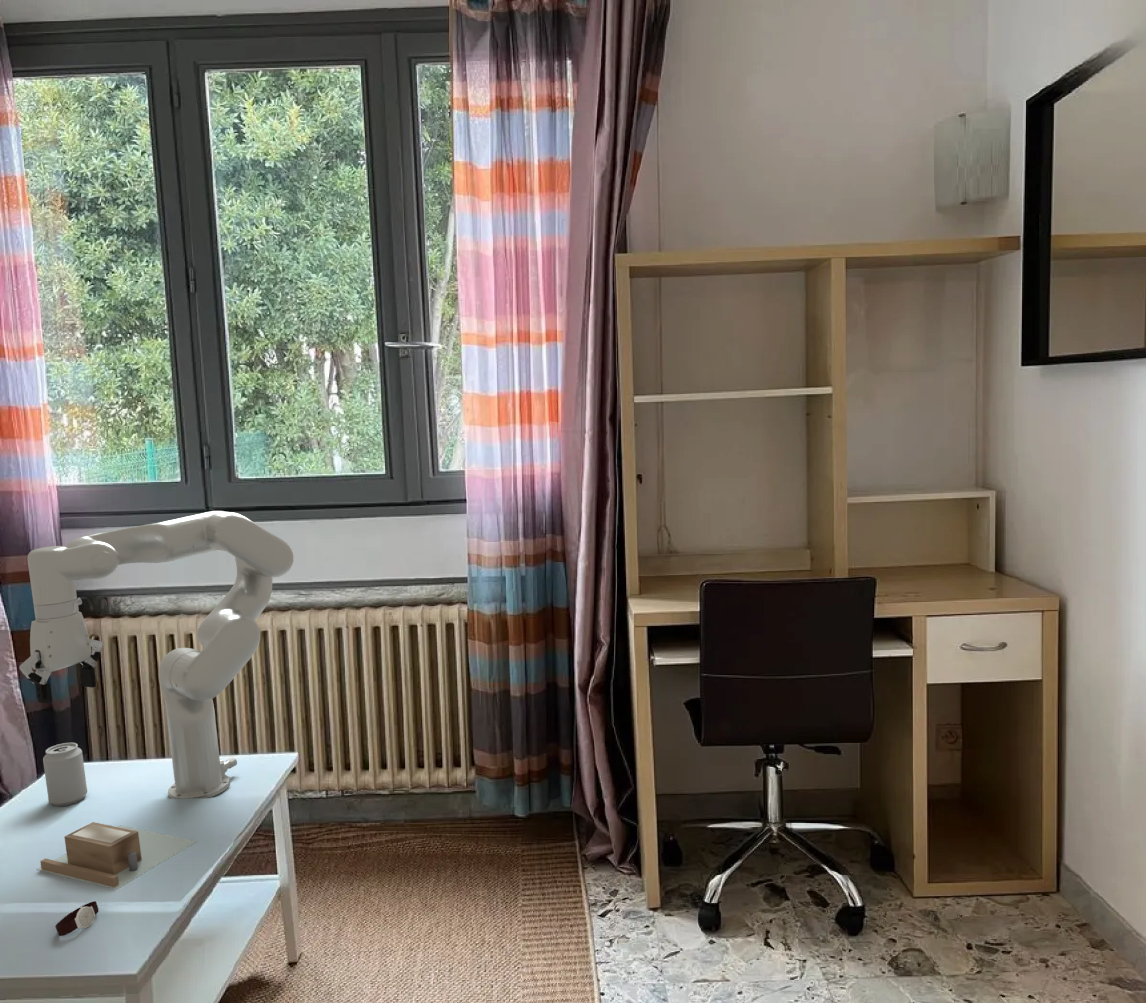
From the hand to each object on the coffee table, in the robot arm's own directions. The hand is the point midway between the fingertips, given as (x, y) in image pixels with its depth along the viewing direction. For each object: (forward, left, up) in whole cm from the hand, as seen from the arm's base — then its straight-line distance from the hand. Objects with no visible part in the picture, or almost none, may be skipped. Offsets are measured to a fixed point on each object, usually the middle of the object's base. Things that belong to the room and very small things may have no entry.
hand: (67, 694), depth 188 cm
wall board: (+7, +18, -28) cm, 34 cm away
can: (-9, -17, -28) cm, 34 cm away
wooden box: (+10, +18, -27) cm, 34 cm away
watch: (+25, +30, -29) cm, 48 cm away
